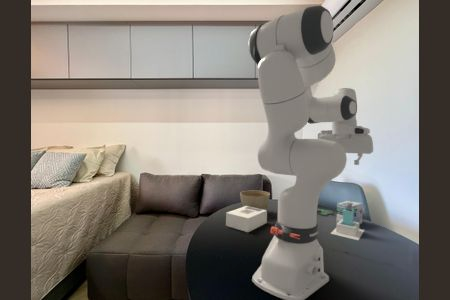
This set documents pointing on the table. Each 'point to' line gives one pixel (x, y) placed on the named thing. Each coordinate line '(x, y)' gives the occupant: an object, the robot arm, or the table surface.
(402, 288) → the table surface
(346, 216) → the plug
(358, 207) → the light bulb box
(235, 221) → the white box
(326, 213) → the disk drive
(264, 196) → the planter bowl
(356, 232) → the holster
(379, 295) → the table surface
